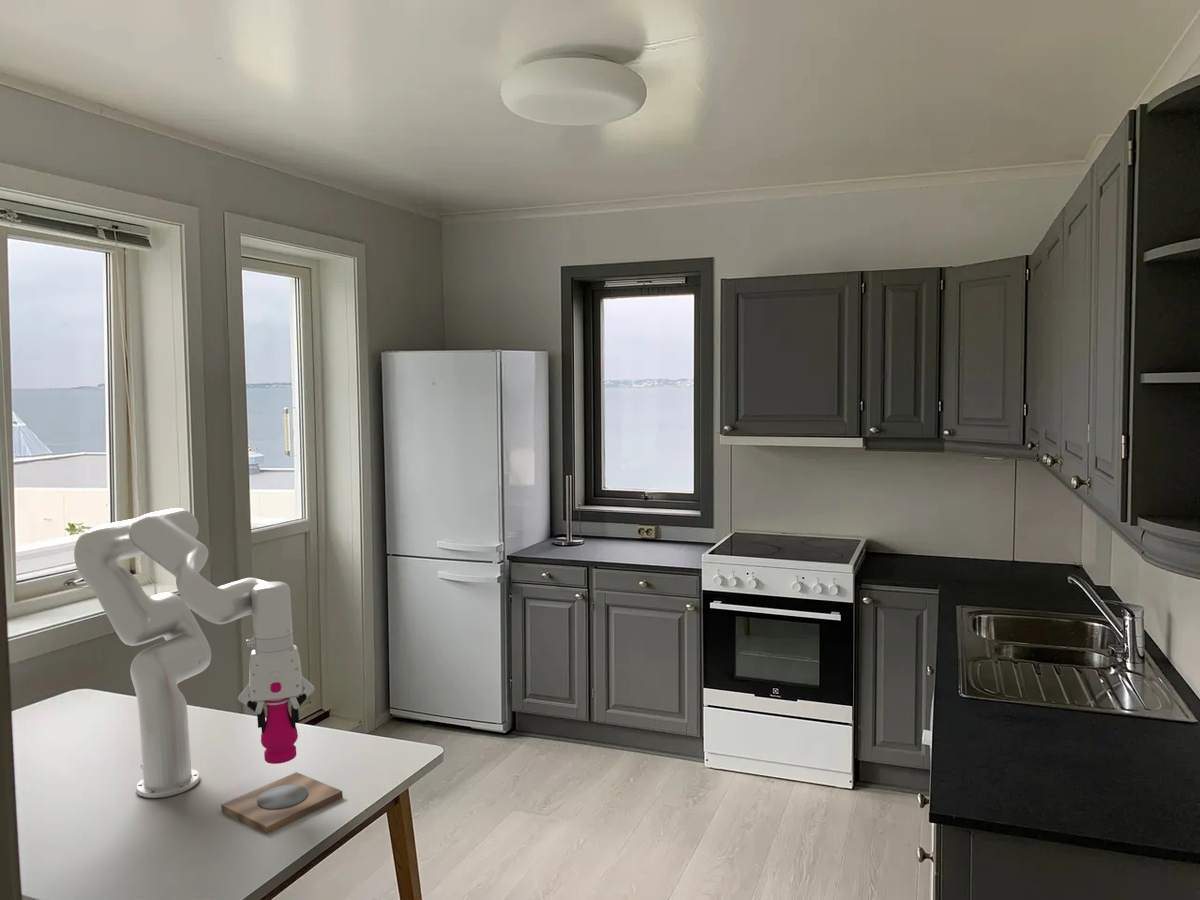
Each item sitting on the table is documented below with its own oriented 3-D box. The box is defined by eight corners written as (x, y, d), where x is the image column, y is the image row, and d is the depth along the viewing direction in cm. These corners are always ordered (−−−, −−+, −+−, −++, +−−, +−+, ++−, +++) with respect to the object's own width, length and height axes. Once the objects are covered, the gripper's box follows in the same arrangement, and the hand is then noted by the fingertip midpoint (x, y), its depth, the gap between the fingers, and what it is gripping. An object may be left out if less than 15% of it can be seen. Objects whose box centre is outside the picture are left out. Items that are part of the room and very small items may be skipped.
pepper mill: (287, 766, 183) (281, 670, 181) (255, 764, 184) (248, 669, 183) (305, 751, 190) (300, 659, 188) (274, 749, 191) (268, 657, 190)
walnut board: (221, 811, 186) (221, 802, 185) (296, 778, 200) (296, 770, 200) (267, 834, 176) (266, 824, 176) (342, 797, 191) (342, 789, 190)
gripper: (227, 653, 179) (233, 741, 180) (317, 642, 184) (322, 728, 186) (230, 642, 186) (235, 727, 187) (316, 632, 191) (321, 715, 193)
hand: (278, 727), depth 187 cm, fingers closed on pepper mill, 5 cm apart
